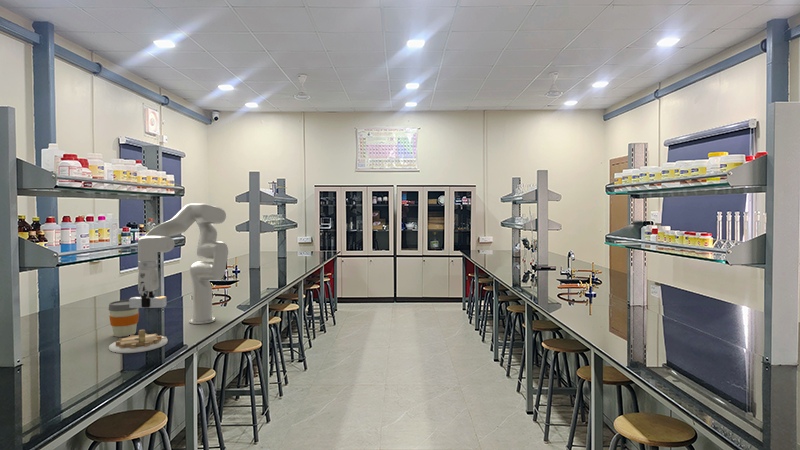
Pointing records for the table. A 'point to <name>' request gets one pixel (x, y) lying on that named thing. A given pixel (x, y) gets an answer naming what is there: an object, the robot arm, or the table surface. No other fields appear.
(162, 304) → the white rectangular box
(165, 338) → the base plate
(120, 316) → the reusable coffee cup
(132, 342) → the sprocket wheel
